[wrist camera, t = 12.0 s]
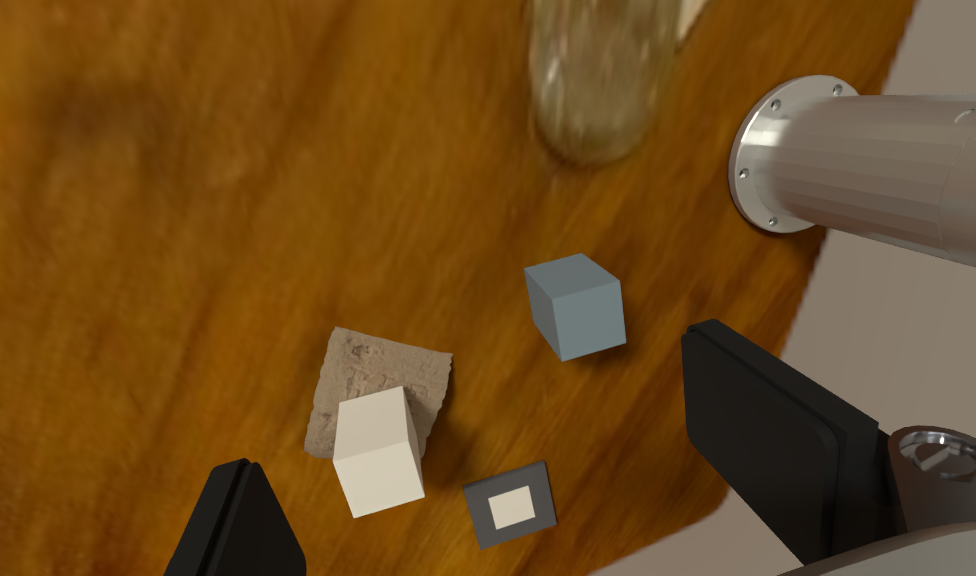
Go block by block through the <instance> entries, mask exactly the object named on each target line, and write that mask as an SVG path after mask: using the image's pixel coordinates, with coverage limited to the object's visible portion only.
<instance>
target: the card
mask: <svg viewBox="0 0 976 576" xmlns="http://www.w3.org/2000/svg"><path fill="white" fill-rule="evenodd" d="M463 490H464V493H465V497H466V500H467V504H468V507H469V511H470V514H471V518H472V521H473V525H474V528H475V532H476V535H477V539H478V542H479V546H480V549H484V548H487V547H490V546H493V545H496V544H499V543H502V542H505V541H508V540H511V539H514V538H517V537H520V536H523V535H526V534H529V533H532V532H535V531H538V530H541V529H544V528H547V527H550V526H553V525H556V524H557V523H556V518H555V512H554V507H553V502H552V497H551V492H550V487H549V482H548V477H547V472H546V467H545V463H544V460H543V461H540V462H537V463H534V464H530V465H527V466H524V467H521V468H518V469H515V470H511V471H508V472H505V473H502V474H499V475H496V476H492V477H489V478H486V479H483V480H480V481H477V482H474V483H470V484H467V485H464V486H463Z"/></svg>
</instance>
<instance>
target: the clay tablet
mask: <svg viewBox="0 0 976 576" xmlns="http://www.w3.org/2000/svg"><path fill="white" fill-rule="evenodd" d="M328 343H329V346H328V347H327V354H326V356H325V358H324V361H325V363H324V365H323V366H322V368H321V371H320V376H321V378H320V379H319V382H318V385H317V388H316V391H315V395H314V400H313V403H314V409H313V411H312V412H311V418H310V423H309V424H308V426H307V427H308V428H307V429H308V432H307V435H306V437H305V438H306V439H305V444H304V445H305V446H304V448H305V449H304V450H303V451H306V452H308V453H310V454H311V455H312V456H313V457H318V458H331V459H333V457H334V448H335V439H336V430H337V421H338V412H339V403H340V402H344V401H347V400H351V399H355V398H359V397H362V396H366V395H370V394H374V393H377V392H381V391H385V390H389V389H392V388H396V387H400V386H403V389H404V392H405V396H406V399H407V403H408V406H409V410H410V414H411V417H412V421H413V424H414V428H415V431H416V435H417V441H418V449H419V456H420V463H421V462H422V461H421V458H422V457H423V455H424V453H425V449H426V437H428V436H429V435H430V434H431V428H432V425H433V424H434V422H435V420H436V418H437V412H438V410H439V409H440V408H441V407H442V400H443V399H444V397H445V395H446V393H445V391H446V389H447V383H448V379H449V377H448V374H449V372H450V370H451V366H450V364H451V362H452V360H451V357H452V356H453V353H441V352H436V351H432V350H428V349H424V348H420V347H415V346H410V345H406V344H402V343H398V342H394V341H390V340H386V339H383V338H378V337H374V336H369V335H366V334H361V333H359V332H355V331H351V330H349V329H344V328H340V327H335V330H334V331H333V332H332V334H331V337H330V339H329V341H328Z"/></svg>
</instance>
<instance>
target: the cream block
mask: <svg viewBox="0 0 976 576" xmlns="http://www.w3.org/2000/svg"><path fill="white" fill-rule="evenodd" d="M333 464H334V466H335V469H336V472H337V474H338V477H339V480H340V482H341V485H342V488H343V490H344V493H345V496H346V499H347V501H348V504H349V507H350V509H351V512H352V515H353V517H354V518H356V517H360V516H363V515H366V514H370V513H373V512H376V511H380V510H383V509H386V508H390V507H393V506H396V505H400V504H403V503H407V502H410V501H413V500H417V499H420V498H423V497H425V495H424V487H423V479H422V472H421V464H420V456H419V449H418V441H417V435H416V431H415V428H414V424H413V421H412V417H411V414H410V410H409V406H408V403H407V399H406V396H405V392H404V389H403V386H400V387H396V388H392V389H389V390H385V391H381V392H377V393H374V394H370V395H366V396H362V397H359V398H355V399H351V400H347V401H344V402H340V403H339V412H338V421H337V430H336V439H335V448H334V457H333Z"/></svg>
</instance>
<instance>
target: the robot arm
mask: <svg viewBox="0 0 976 576" xmlns="http://www.w3.org/2000/svg"><path fill="white" fill-rule="evenodd" d="M728 179H729V186H730V192H731V195H732V198H733V200H734V203H735V205H736V207H737V208H738V210H739V211H740V213H741V214H742V215H743V216H744V217H745V218H746V219H747V220H748V221H749V222H750V223H752V224H754V225H756V226H757V227H759V228H762V229H765V230H768V231H772V232H779V233H790V232H797V231H800V230H804V229H807V228H809V227H811V226H813V225H815V224H818V225H821V226H825V227H829V228H832V229H836V230H840V231H844V232H847V233H851V234H855V235H858V236H862V237H865V238H869V239H873V240H877V241H880V242H884V243H887V244H891V245H895V246H898V247H902V248H906V249H909V250H913V251H917V252H920V253H924V254H928V255H931V256H935V257H939V258H942V259H946V260H950V261H953V262H957V263H961V264H964V265H969V266H973V267H976V94H926V95H925V94H924V95H923V94H922V95H865V96H859V94H858V93H857V92H856V90H855V89H854V88H853V87H851V86H850V85H849V84H848V83H846V82H845V81H843V80H840V79H838V78H836V77H833V76H825V75H812V76H803V77H799V78H795V79H791V80H789V81H787V82H785V83H783V84H781V85H779V86H777V87H776V88H774V89H773V90H772V91H770V92H769V93H767V94H766V95H765V96H764V97H763V98H762V99H761V100H760V101H759V102H758V103H757V104H756V105H755V106H754V107H753V109H752V110H751V111H750V113H749V114H748V115H747V117H746V118H745V120H744V121H743V123H742V125H741V127H740V129H739V131H738V133H737V135H736V138H735V141H734V144H733V146H732V150H731V155H730V160H729V173H728ZM681 348H682V364H683V380H684V396H685V412H686V428H687V434H688V437H689V439H690V441H691V443H692V444H693V446H694V447H695V448H696V449H697V450H698V451H699V452H700V453H701V454H702V456H703V457H704V458H705V459H706V460H707V461H708V462H709V463H710V464H711V465H712V466H713V467H714V469H715V470H716V471H717V472H718V473H719V474H720V475H721V476H722V477H723V478H724V479H725V480H726V482H727V483H728V484H729V485H730V486H731V487H732V488H733V489H734V490H735V491H736V492H737V493H738V495H739V496H740V497H741V498H742V499H743V500H744V501H745V502H746V503H747V504H748V505H749V506H750V508H752V510H753V511H754V512H755V513H756V514H757V515H758V516H759V517H760V518H761V519H762V521H763V522H764V523H765V524H766V525H767V526H768V527H769V528H770V529H771V530H772V531H773V532H774V533H775V535H776V536H777V537H778V538H779V539H780V540H781V541H782V542H783V543H784V544H785V545H786V547H787V548H788V549H789V550H790V551H791V552H792V553H793V554H794V555H795V556H796V557H797V558H798V559H799V561H800V562H801V563H802V564H803V565H804V566H803V567H800V568H797V569H794V570H791V571H788V572H786V573H783V574H780V575H777V576H976V438H974V437H971V436H969V435H966V434H964V433H960V432H957V431H955V430H951V429H946V428H941V427H935V426H911V427H904V428H902V429H900V430H897V431H895V432H893V434H892V435H891V436H889V435H888V434H886V433H885V432H883V431H882V430H880V429H878V425H879V422H877V421H876V420H874V419H872V418H871V417H869V416H868V415H866V414H864V413H863V412H861V411H860V410H858V409H857V408H855V407H854V406H852V405H850V404H849V403H847V402H845V401H844V400H842V399H841V398H839V397H838V396H836V395H835V394H833V393H832V392H830V391H828V390H827V389H825V388H824V387H822V386H821V385H819V384H817V383H816V382H814V381H813V380H811V379H810V378H808V377H806V376H805V375H803V374H802V373H800V372H799V371H797V370H795V369H794V368H792V367H791V366H789V365H787V364H786V363H784V362H783V361H781V360H780V359H778V358H777V357H775V356H773V355H772V354H770V353H769V352H767V351H766V350H764V349H762V348H761V347H759V346H758V345H756V344H755V343H753V342H751V341H750V340H748V339H747V338H745V337H743V336H742V335H740V334H739V333H737V332H736V331H734V330H732V329H731V328H729V327H728V326H726V325H725V324H723V323H721V322H720V321H718V320H716V319H710V320H707V321H704V322H700V323H697V324H693V325H690V326H689V327H688V328H687V331H686V334H683V335H682V337H681ZM163 576H306V560H305V556H304V554H303V551H302V549H301V547H300V545H299V543H298V541H297V539H296V537H295V535H294V533H293V531H292V529H291V527H290V525H289V523H288V521H287V519H286V516H285V514H284V512H283V510H282V508H281V506H280V504H279V502H278V500H277V498H276V496H275V494H274V492H273V490H272V488H271V486H270V484H269V482H268V480H267V478H266V475H265V473H264V471H263V469H262V467H261V466H260V464H259V463H257V462H254V463H250V461H249V460H248V459H246V458H242V459H239V460H236V461H232V462H229V463H225V464H222V465H219V466H216V467H214V468H213V470H212V471H211V473H210V475H209V477H208V480H207V482H206V484H205V486H204V489H203V491H202V493H201V495H200V497H199V500H198V502H197V504H196V506H195V508H194V511H193V513H192V515H191V517H190V519H189V522H188V524H187V526H186V528H185V530H184V533H183V535H182V537H181V539H180V542H179V544H178V546H177V548H176V550H175V553H174V555H173V557H172V558H171V560H170V562H169V564H168V566H167V569H166V571H165V573H164V575H163Z"/></svg>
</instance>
